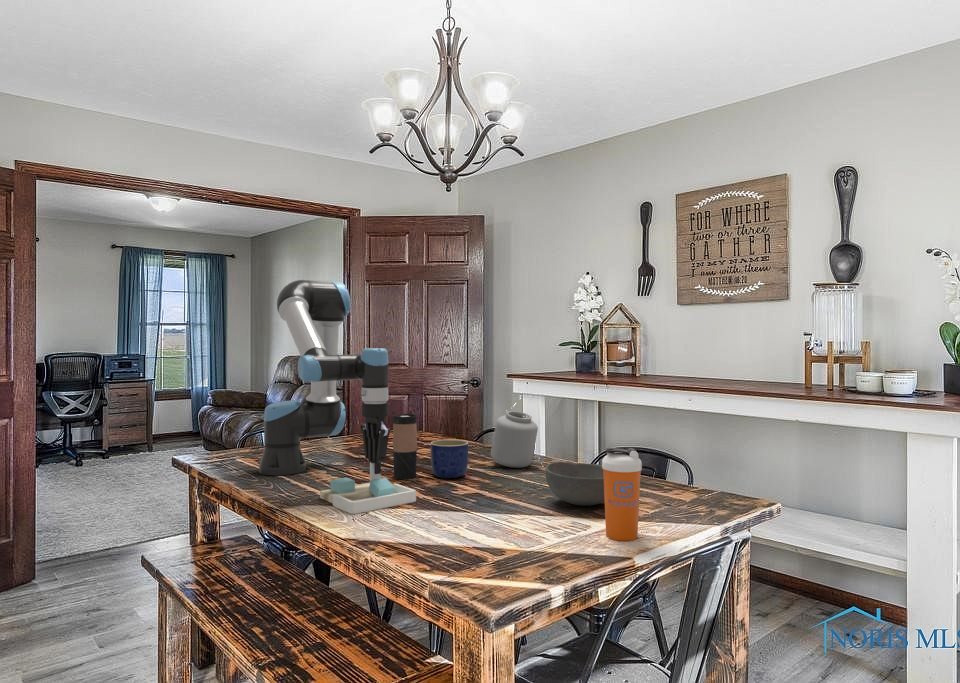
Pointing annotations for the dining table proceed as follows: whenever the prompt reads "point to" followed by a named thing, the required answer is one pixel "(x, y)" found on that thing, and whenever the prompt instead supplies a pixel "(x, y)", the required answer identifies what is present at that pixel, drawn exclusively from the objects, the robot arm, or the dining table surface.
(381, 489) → the tile
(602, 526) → the dining table surface
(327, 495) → the board
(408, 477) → the travel mug
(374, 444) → the robot arm
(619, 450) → the shaker bottle
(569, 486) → the bowl
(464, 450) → the planter
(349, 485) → the tile
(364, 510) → the tray
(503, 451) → the jar
